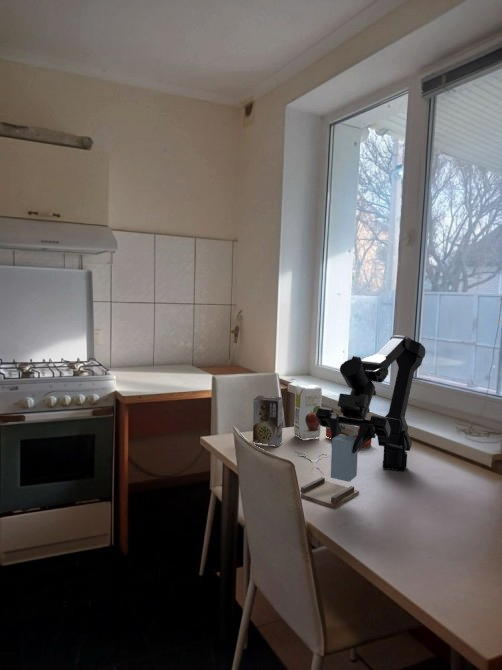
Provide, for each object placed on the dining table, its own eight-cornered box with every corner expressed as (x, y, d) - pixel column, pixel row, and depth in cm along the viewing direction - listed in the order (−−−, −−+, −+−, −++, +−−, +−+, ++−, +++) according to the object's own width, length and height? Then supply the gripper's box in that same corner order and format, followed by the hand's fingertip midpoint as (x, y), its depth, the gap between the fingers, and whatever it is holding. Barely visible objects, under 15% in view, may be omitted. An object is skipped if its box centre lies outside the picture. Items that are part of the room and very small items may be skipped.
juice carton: (291, 435, 185) (293, 384, 183) (311, 433, 188) (313, 383, 187) (301, 441, 178) (303, 388, 176) (322, 439, 181) (324, 387, 180)
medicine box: (325, 438, 184) (326, 416, 183) (341, 435, 188) (342, 414, 188) (355, 449, 171) (357, 426, 171) (372, 446, 176) (373, 423, 175)
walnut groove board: (295, 495, 131) (295, 487, 131) (321, 482, 140) (321, 475, 140) (334, 508, 123) (335, 500, 123) (358, 493, 133) (359, 486, 133)
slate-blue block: (330, 477, 127) (332, 438, 126) (338, 471, 131) (339, 434, 130) (349, 482, 124) (351, 442, 123) (356, 475, 128) (358, 437, 127)
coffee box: (282, 442, 176) (284, 397, 175) (277, 447, 170) (278, 400, 169) (257, 439, 179) (259, 394, 178) (251, 444, 173) (253, 398, 172)
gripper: (319, 377, 134) (299, 427, 125) (389, 385, 124) (372, 440, 115) (330, 401, 141) (311, 449, 133) (396, 411, 131) (381, 464, 123)
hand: (342, 450), depth 126 cm, fingers closed on slate-blue block, 5 cm apart
